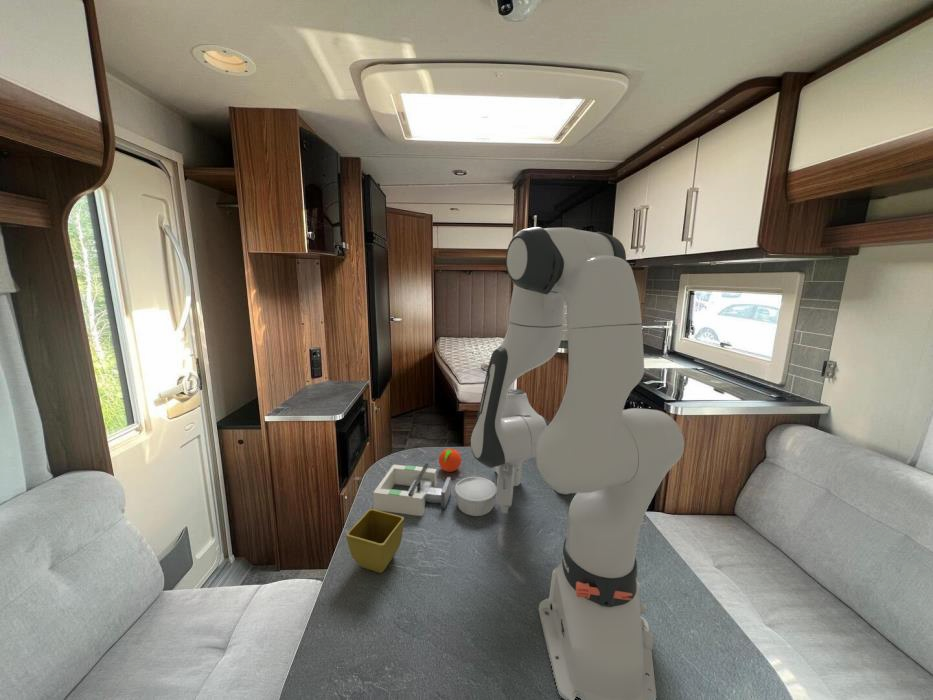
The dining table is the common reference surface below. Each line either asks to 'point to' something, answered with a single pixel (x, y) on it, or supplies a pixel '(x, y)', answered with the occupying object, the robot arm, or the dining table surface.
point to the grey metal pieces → (431, 489)
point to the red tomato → (450, 460)
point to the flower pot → (375, 539)
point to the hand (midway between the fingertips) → (505, 499)
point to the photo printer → (517, 474)
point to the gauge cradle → (399, 499)
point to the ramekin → (475, 495)
